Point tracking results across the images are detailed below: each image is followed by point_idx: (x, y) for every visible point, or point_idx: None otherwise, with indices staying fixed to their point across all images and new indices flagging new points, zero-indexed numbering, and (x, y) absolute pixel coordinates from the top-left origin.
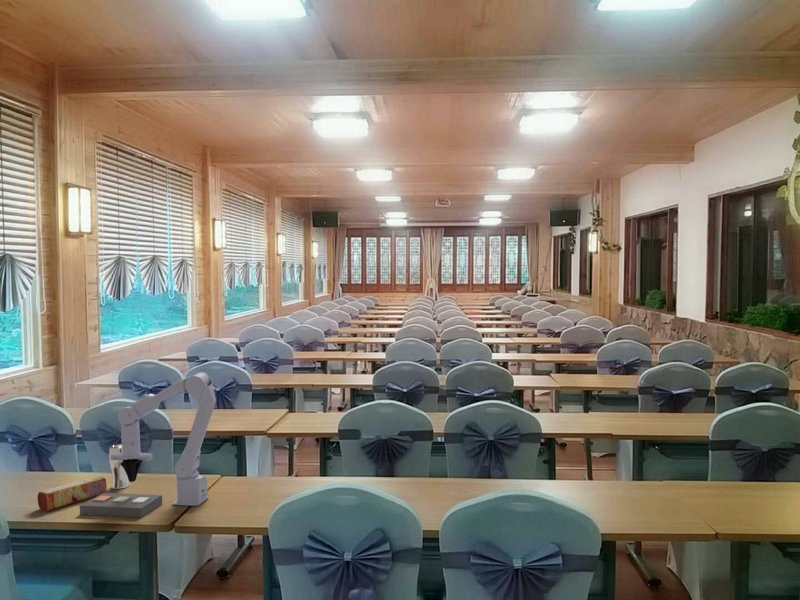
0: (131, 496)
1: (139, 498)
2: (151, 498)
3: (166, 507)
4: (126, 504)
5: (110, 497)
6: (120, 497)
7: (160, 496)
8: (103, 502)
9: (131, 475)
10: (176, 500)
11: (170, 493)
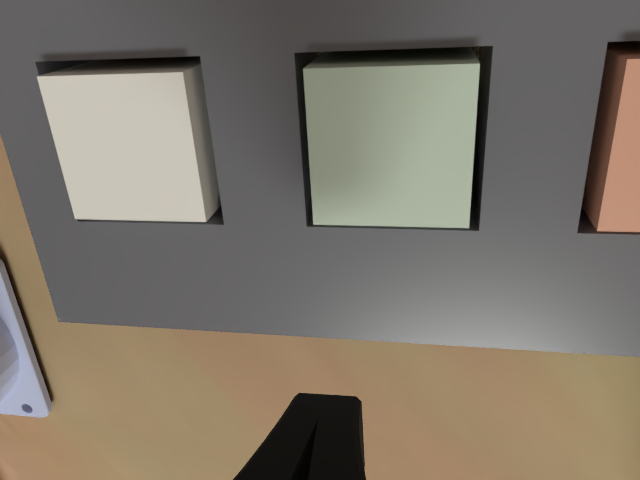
0: (350, 272)
1: (166, 183)
2: (80, 229)
3: (7, 205)
4: (216, 6)
5: (599, 198)
6: (436, 193)
7: (54, 295)
8: (616, 26)
9: (263, 466)
10: (14, 322)
11: (213, 471)
